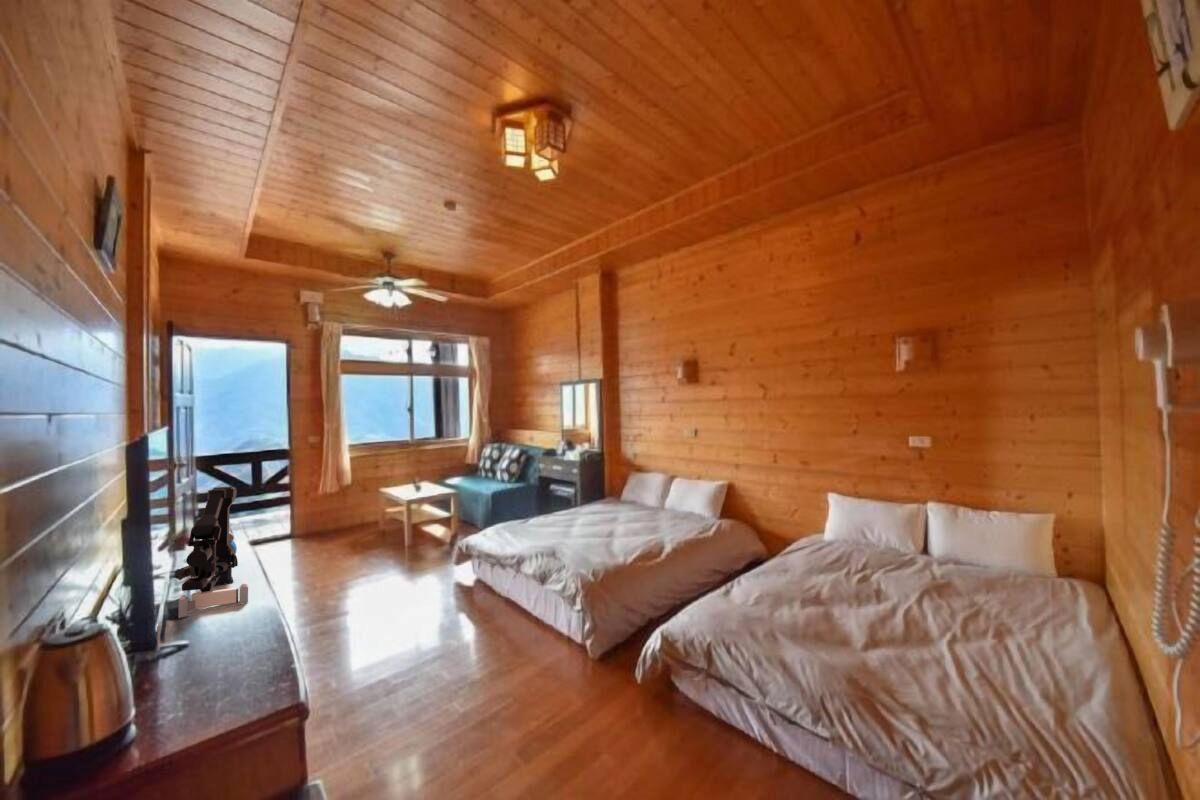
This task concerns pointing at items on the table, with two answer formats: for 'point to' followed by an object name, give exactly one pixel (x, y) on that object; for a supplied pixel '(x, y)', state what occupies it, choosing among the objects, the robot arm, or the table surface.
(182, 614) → the gate frame
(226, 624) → the table surface
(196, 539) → the robot arm
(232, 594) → the gate
